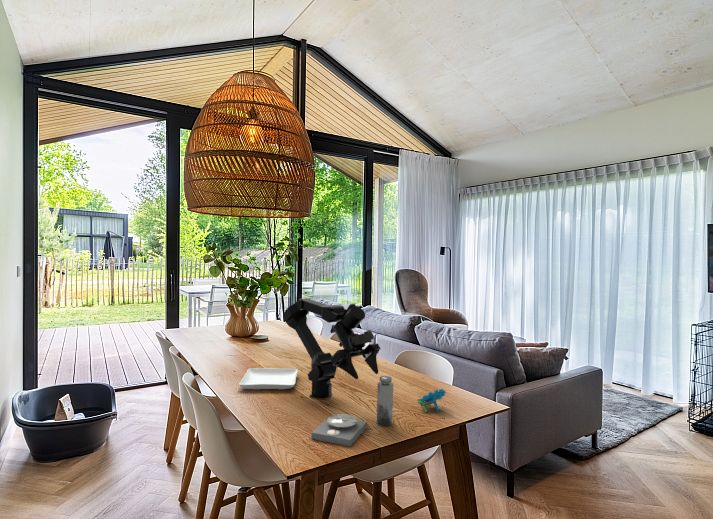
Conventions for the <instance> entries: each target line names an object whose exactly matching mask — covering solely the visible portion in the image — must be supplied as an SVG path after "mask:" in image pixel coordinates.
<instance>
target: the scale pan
mask: <svg viewBox="0 0 713 519" xmlns="http://www.w3.org/2000/svg"><path fill="white" fill-rule="evenodd" d="M326 420H327V423H328V424H329V425H331V426H333V427H338V428H348V427H352V426H354V425H356V424H357V420H358V418H357V417H356V416H355V415H351V414H348V413H337V414H332V416H331V415H330V416H328V417H327V418H326Z"/></svg>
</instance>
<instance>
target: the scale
mask: <svg viewBox="0 0 713 519" xmlns="http://www.w3.org/2000/svg"><path fill="white" fill-rule="evenodd" d="M332 415H333V414H332ZM332 415H330V416H332ZM366 427H367V428H368V421H367V420H359V419H357V424H356V425H354V426H352V427H348V428H338V427H333V426H331V425H329V424H328V423H327V419H325V420H324V421H323V422H322V423H321V424H320V425H319V426H317V427H316V428H315V429H313V431H311V433H310V434H311V438H310V439H311V440H316V441H320V442H321V441H322V442H326V443H331V444H337V445H340V446H346V447H351V446H352V445H353V444H354V443H355V441H356V440H357V439H358V438H359V437H360V436H361V435H362V434H363V432H364V431H365V430H366V429H367V428H366ZM360 434H361V435H360Z"/></svg>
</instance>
